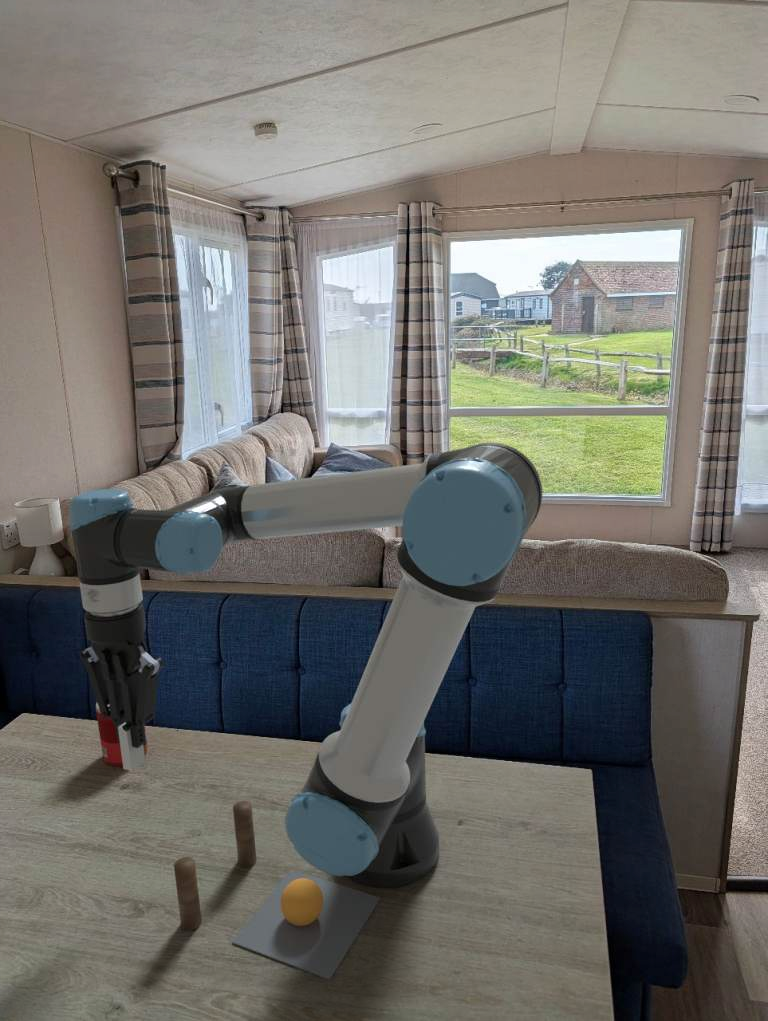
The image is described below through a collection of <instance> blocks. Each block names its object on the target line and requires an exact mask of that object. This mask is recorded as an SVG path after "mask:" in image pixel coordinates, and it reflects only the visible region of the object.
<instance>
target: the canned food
mask: <svg viewBox="0 0 768 1021" xmlns="http://www.w3.org/2000/svg"><path fill="white" fill-rule="evenodd" d="M107 706H108V707H109V706H110V705H107ZM95 712H96V713H95V714H96V720H97V725H98V732H99V733H98V734H99V740H100V746H101V754H102V758H103V760H104V762H105V763H106V764H107V765H109V766H112V767H123V761H122V754H121V747H120V744H119V743H118V741H117V736H116V729H115V725H114V724H113V723H112V720H111V719H110V718H109V717H108V718H103V717H102V715H101V712H100V709H99V706H98V703H97V702H96V704H95ZM144 732H145V743H144V744H143V746H144V754H145V756H146V755H147V753H148V740H147V733H146V724H144Z"/></svg>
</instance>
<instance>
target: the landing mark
mask: <svg viewBox="0 0 768 1021" xmlns="http://www.w3.org/2000/svg"><path fill="white" fill-rule="evenodd" d="M300 878H306V879H310V880H312V881H314V882H315V883H316V884H317V885H318V886H319V888H320V889H321V891H322V894H323V907H322V911H321V913H320V915H319V916H318V918H317V919H316V920H315V921H314V922H312V923H310V924H308V925H305V926H297V925H294V924H292V923H290V922H289V921H288V920H287V919H286V918H285V917H284V915H283V913H282V910H281V896H282V893H283V891H284V889H285V888H286V886H287V885H288V884H289V883H291V882H292V881H294V880H296V879H300ZM380 900H381V896H378V895H377V896H376V895H374V894H370V893H368V892H364V891H362V890H357V889H355V888H351V887H348V886H345V885H342V884H339V883H335V882H333V881H329V880H325V879H323V878H319V877H318V876H317V877H316V876H314V875H310V874H308V873H304V872H301V871H297V870H296V869H295V870H294V869H290V870H289V872H288V873H287V874H286V875H285V876H284V877H283V879H282V880H281V881H280V882H279V884H278V885H277V886H276V887H275V888H274V889H273V891H272V892H271V893H270V895H269V896H268V898H266V900H265V901H264V902H263V903H262V905H261V906H260V907H259V908H258V910H256V912H255V913H254V915H253V916H252V917H251V918H250V919H249V920H248V922H247V923H246V924H245V925H244V927H243V928H242V929H241V930H240V932H239V933H238V934H237V936H236V937H235V938H234V939H233V941H232V942H231V943H232V944H233V945H235V946H238V947H241V948H244V949H247V950H248V951H249V950H250V951H252V952H254V953H257V954H259V955H262V956H264V957H268V958H270V959H273V960H275V961H278V962H281V963H283V964H286V965H288V966H291V967H294V968H296V969H299V970H302V971H304V972H307V973H310V974H312V975H315V976H317V977H321V978H323V979H326V980H329V981H330V980H331V979H332V978H333V976H334V974H335V973H336V971H337V969H338V968H339V966H340V964H341V963H342V961H343V959H344V958H345V956H346V955H347V953H348V951H349V949H350V948H351V946H352V944H353V943H354V942H355V940H356V939H357V937H358V936H359V934H360V932H361V930H362V929H363V927H364V925H365V924H366V922H367V921H368V919H369V917H370V916H371V914H372V913H373V911H374V909H375V908H376V906H377V904H378V903H379V902H380Z"/></svg>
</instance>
